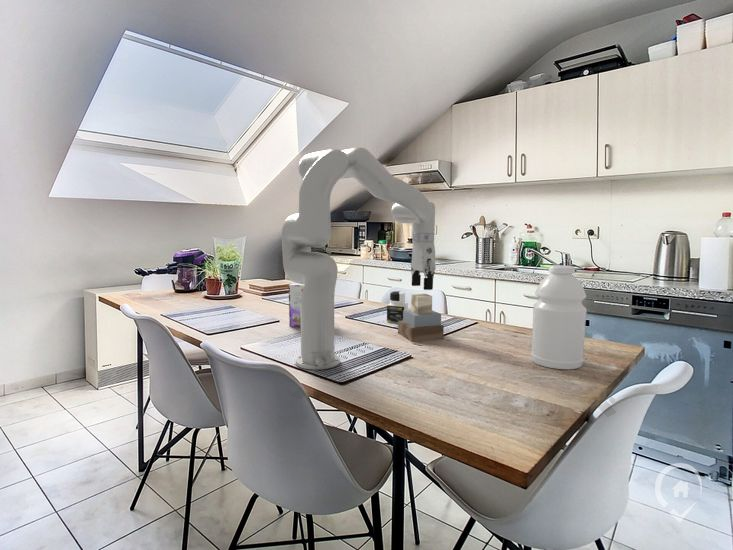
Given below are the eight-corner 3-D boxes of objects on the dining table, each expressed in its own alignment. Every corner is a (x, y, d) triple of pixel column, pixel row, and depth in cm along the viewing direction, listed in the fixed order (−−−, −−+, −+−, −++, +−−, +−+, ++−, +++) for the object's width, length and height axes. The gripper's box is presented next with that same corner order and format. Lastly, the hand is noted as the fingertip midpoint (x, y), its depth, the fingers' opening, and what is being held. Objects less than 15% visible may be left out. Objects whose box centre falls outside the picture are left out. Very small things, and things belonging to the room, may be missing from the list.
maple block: (431, 313, 154) (432, 296, 154) (417, 314, 153) (417, 296, 152) (425, 310, 159) (425, 293, 159) (411, 311, 158) (411, 294, 157)
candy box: (327, 324, 174) (326, 282, 172) (324, 327, 169) (324, 285, 167) (292, 323, 176) (292, 282, 174) (288, 326, 170) (288, 284, 168)
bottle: (551, 372, 120) (557, 269, 117) (520, 357, 133) (525, 264, 130) (594, 367, 124) (601, 268, 120) (560, 353, 137) (565, 263, 134)
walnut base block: (443, 340, 154) (443, 325, 153) (411, 342, 150) (411, 328, 149) (427, 331, 165) (428, 318, 164) (397, 334, 161) (398, 320, 160)
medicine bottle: (386, 322, 178) (386, 292, 177) (390, 318, 185) (391, 290, 184) (404, 323, 176) (404, 293, 175) (407, 319, 183) (408, 291, 181)
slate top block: (440, 325, 154) (441, 314, 153) (414, 327, 151) (414, 315, 150) (428, 319, 163) (428, 308, 162) (403, 321, 160) (403, 310, 159)
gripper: (445, 239, 145) (443, 290, 147) (422, 237, 162) (421, 284, 164) (424, 239, 143) (422, 291, 145) (403, 237, 159) (402, 284, 161)
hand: (421, 287), depth 154 cm, fingers open, 9 cm apart
